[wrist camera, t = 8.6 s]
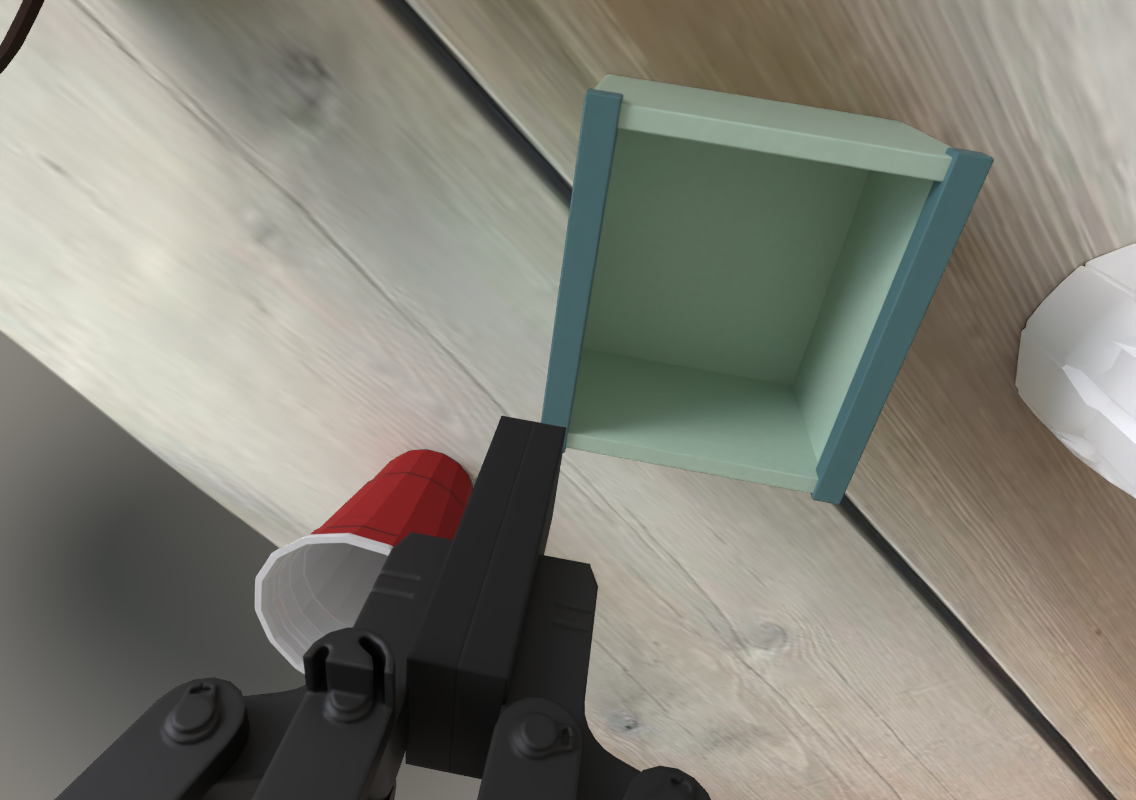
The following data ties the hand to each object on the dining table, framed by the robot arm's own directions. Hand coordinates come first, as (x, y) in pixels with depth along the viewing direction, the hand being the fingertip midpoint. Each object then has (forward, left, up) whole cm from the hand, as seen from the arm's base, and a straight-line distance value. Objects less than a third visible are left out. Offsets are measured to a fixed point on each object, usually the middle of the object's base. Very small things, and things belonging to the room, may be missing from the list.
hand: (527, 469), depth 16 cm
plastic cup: (+18, -8, -21) cm, 29 cm away
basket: (0, -1, -16) cm, 16 cm away
